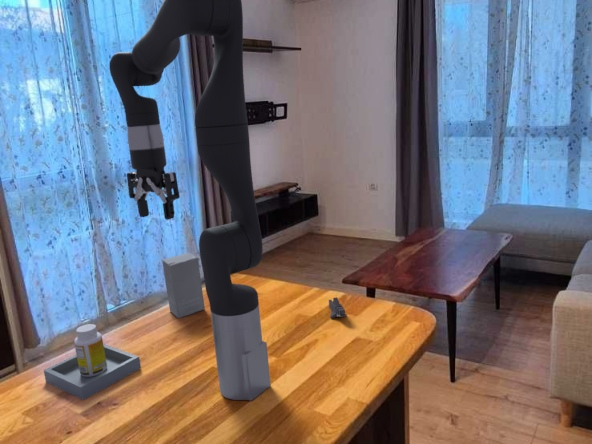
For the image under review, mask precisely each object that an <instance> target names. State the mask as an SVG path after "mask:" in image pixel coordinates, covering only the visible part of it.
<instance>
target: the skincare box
mask: <svg viewBox="0 0 592 444" xmlns="http://www.w3.org/2000/svg"><path fill="white" fill-rule="evenodd" d="M161 262H162V268H163V276H164V281H165V286H166V294H167V299H168V300H167V301H168V306H169V311H170V313H171V314H172V315H174V316H175V317H176V318H177V319H181V318H183V317H186V316H189V315H192V314H195V313H198V312H200V311H203V310H206V309H205V301H204V294H203V285H202V284H203V283H202V279H201V270H200V264H199V257H198V256H196V255H194V254H192V253H191V252H186V253H182V254H179V255H174V256H171V257H167V258H163V259H161Z"/></svg>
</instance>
